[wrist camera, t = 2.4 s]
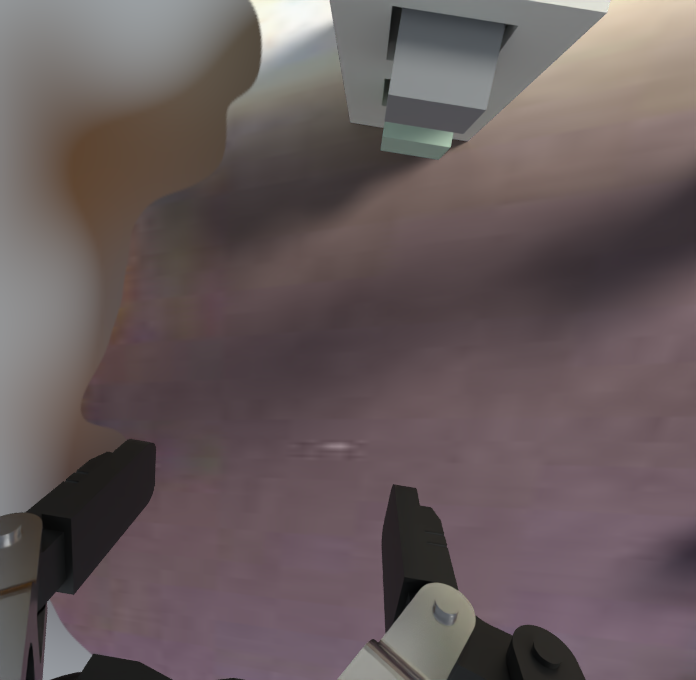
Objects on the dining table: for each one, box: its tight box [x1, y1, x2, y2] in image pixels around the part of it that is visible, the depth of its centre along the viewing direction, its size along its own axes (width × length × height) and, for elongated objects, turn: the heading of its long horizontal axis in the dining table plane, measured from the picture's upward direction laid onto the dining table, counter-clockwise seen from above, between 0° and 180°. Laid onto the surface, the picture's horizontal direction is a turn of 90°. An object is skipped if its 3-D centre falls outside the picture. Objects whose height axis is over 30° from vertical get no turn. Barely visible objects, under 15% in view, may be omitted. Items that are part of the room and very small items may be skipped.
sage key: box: [381, 122, 453, 160], centre depth 30 cm, size 5×6×5 cm
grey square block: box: [385, 7, 505, 134], centre depth 21 cm, size 5×6×5 cm
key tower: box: [330, 0, 611, 141], centre depth 27 cm, size 12×10×24 cm
